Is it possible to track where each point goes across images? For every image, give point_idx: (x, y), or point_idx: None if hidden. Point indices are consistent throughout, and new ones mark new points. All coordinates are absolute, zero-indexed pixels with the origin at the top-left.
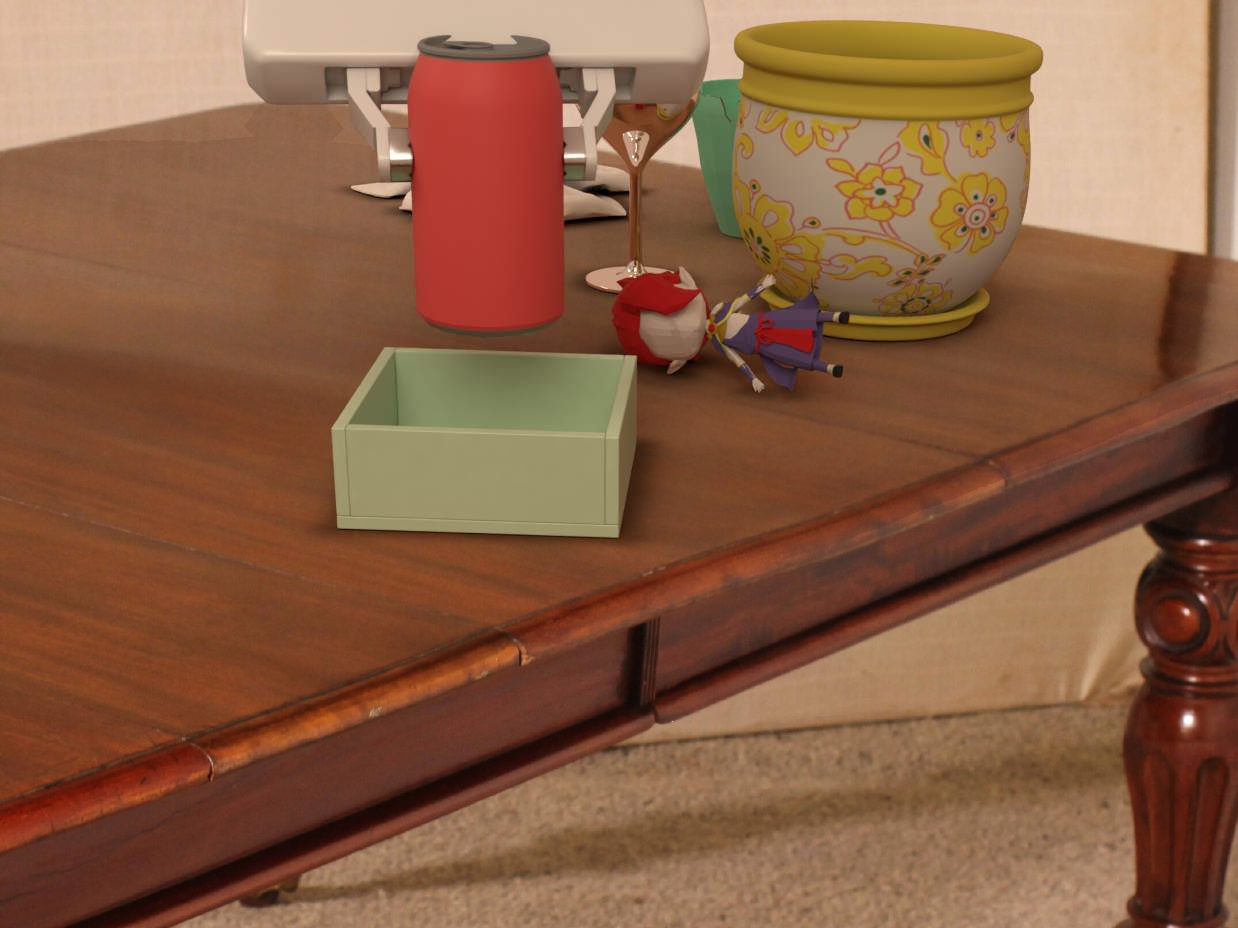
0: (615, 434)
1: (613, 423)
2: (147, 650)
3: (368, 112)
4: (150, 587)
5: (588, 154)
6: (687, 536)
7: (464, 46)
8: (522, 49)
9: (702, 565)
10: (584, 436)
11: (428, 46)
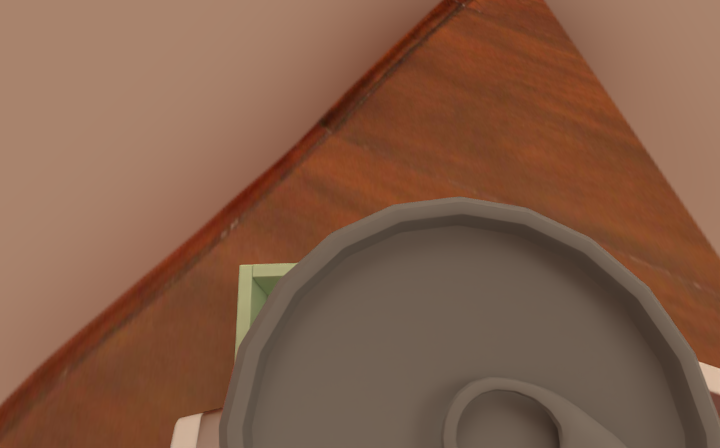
0: (242, 272)
1: (245, 304)
2: (525, 86)
3: (708, 370)
4: (566, 166)
5: (194, 417)
6: (202, 299)
7: (535, 387)
8: (306, 273)
9: (192, 242)
10: (272, 264)
11: (628, 273)
